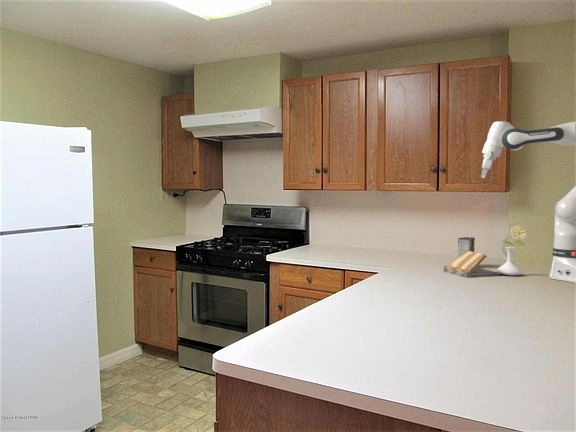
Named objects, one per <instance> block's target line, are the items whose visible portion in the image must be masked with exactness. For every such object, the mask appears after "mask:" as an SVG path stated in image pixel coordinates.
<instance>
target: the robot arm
mask: <svg viewBox="0 0 576 432" xmlns="http://www.w3.org/2000/svg"><path fill="white" fill-rule="evenodd" d="M488 130H489V131H488V133H487V137H486V138H487V139H486V141H485V142H484V145H483V147H482V150H481V153H482V154H483V155H482V157H483V160H482V165H481V169H482V171H481V175H480V178H482V179H485V178H486V175H487V174H488V171H490V170H491V168H492V164H493V162H494V161H496V160H497V158H500V156H501V153H502V151H503V148H504V147H505V148H507V149H508V150H510V151H518V150H521V149H522V148H524V146H525V145H528V144H536V143H537V144H539V143H552V144H554V145H555V144H556V145H558V146H575V145H576V121H569V122H565V123H561V124H557V125H554V126H552V127H547V128H538V129H532V130H531V129H530V130H523V129H521V128H515V126H513V125H512V124H511V122H509V121H505V120H496V121H494V122H493V123H492V124H491V126H490V128H489V129H488ZM551 252H552V263H551V266H550V267H551V268H550V271H549V274H548V277H549V278H550V279H552V280H558V281H563V282H570V283H575V284H576V185H575V186H574V187H573V188H572V189H570V191H569V192H568V193H566V195H565V196H564V197H562V198H561V199H559V200H558V201H557V203H556V205H555V208H554V237H553V247H552V251H551Z"/></svg>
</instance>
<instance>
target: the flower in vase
mask: <svg viewBox="0 0 576 432" xmlns="http://www.w3.org/2000/svg"><path fill="white" fill-rule="evenodd" d="M509 232H510V233H509V235H510V237H511V238H512V239H514V240H515V241H514V243H513V244H512V242H509V241H508V240H506V239H505V242H506V244H507V245H511V246H504V249H505V251H506V254H507V255H506V256H507V258H506V261H505V263H503V264H502V265H501V266H499V267H498V268H497V269H496V272H498V274H500V275H501V274H502V275H505V276H519V275H521V274H522V273H523V271H522V270H521V269H520V267H518V266H517V265H516V264H515V263H514V262H513V256H514V255H513V254H514V251H515V250H516V247H513V246H514V245H515V244H516V245H517V246H525V243H524V242H523V241H522V240H525V239H527V238H526V237H527V236H528V231H527V230H526V229H525V227H524V226H521V225H515V226H512V227H511V228H510V231H509Z"/></svg>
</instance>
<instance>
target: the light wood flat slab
mask: <svg viewBox="0 0 576 432" xmlns="http://www.w3.org/2000/svg"><path fill="white" fill-rule="evenodd" d="M486 258H487V254H485V253H480V252H476V251H474V252H470V251H465V250H464V251H463V252H462V253H461V254H460V255H459V256H458V255H457V257H456V258H455V259H454V260H453V261H452V263H450V264H449V266H451V267H455V268H460V269H464V270H468V271H470V273H471V272H472V271H473V270H474V269H475V268H478V266H479V265H480V264H481V263H482V262H483V261H484V260H485V259H486Z"/></svg>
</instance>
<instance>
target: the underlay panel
mask: <svg viewBox="0 0 576 432" xmlns="http://www.w3.org/2000/svg"><path fill="white" fill-rule="evenodd" d="M443 272H444V273H448V274H453V275H456V276H459V277H463V278H476V277H477V278H478V277H494V276H498V274H499V273H498V272H497V271H493V270H491V269H490V270H489V269H485V268H481V267H476V268H475V269H474V270H473V271H472V272H471V273H470V271H468V270H464V269H460V268H455V267H451V266H450V265H444V266H443Z"/></svg>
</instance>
